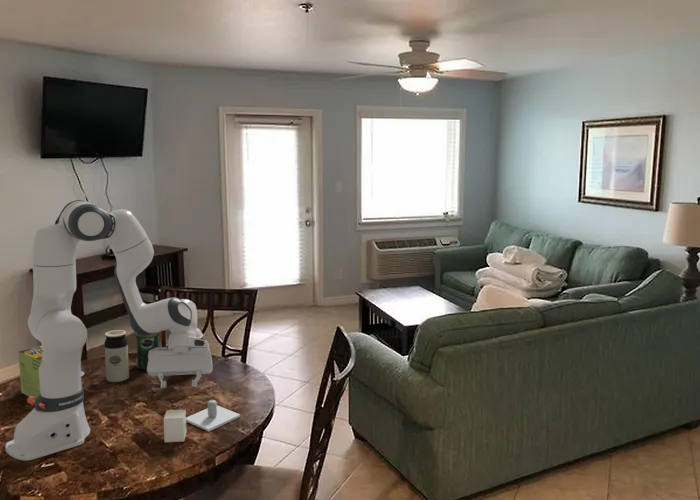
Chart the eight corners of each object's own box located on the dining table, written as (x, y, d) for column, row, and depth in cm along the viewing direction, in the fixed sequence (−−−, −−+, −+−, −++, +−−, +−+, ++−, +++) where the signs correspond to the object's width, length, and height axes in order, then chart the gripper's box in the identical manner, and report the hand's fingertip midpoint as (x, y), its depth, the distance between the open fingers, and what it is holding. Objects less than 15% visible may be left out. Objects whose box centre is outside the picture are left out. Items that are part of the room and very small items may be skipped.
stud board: (208, 431, 179) (208, 414, 178) (184, 420, 186) (183, 403, 185) (240, 416, 189) (240, 400, 188) (215, 406, 196) (215, 390, 195)
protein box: (44, 404, 197) (41, 360, 194) (20, 393, 205) (17, 351, 202) (73, 393, 205) (70, 351, 203) (49, 383, 214) (46, 343, 211)
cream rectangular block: (184, 441, 173) (183, 417, 171) (164, 442, 172) (163, 418, 171) (186, 432, 178) (185, 409, 177) (167, 433, 177) (166, 410, 176)
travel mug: (112, 374, 223) (109, 329, 220) (132, 374, 223) (130, 329, 220) (102, 382, 215) (100, 335, 212) (123, 383, 215) (121, 336, 212)
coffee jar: (163, 362, 237) (161, 318, 234) (160, 369, 229) (159, 323, 226) (138, 363, 235) (136, 319, 232) (135, 370, 227) (132, 325, 224)
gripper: (147, 343, 186) (142, 384, 178) (212, 341, 189) (210, 381, 181) (150, 352, 191) (146, 392, 183) (214, 349, 194) (212, 389, 186)
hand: (178, 386), depth 182 cm, fingers open, 8 cm apart
